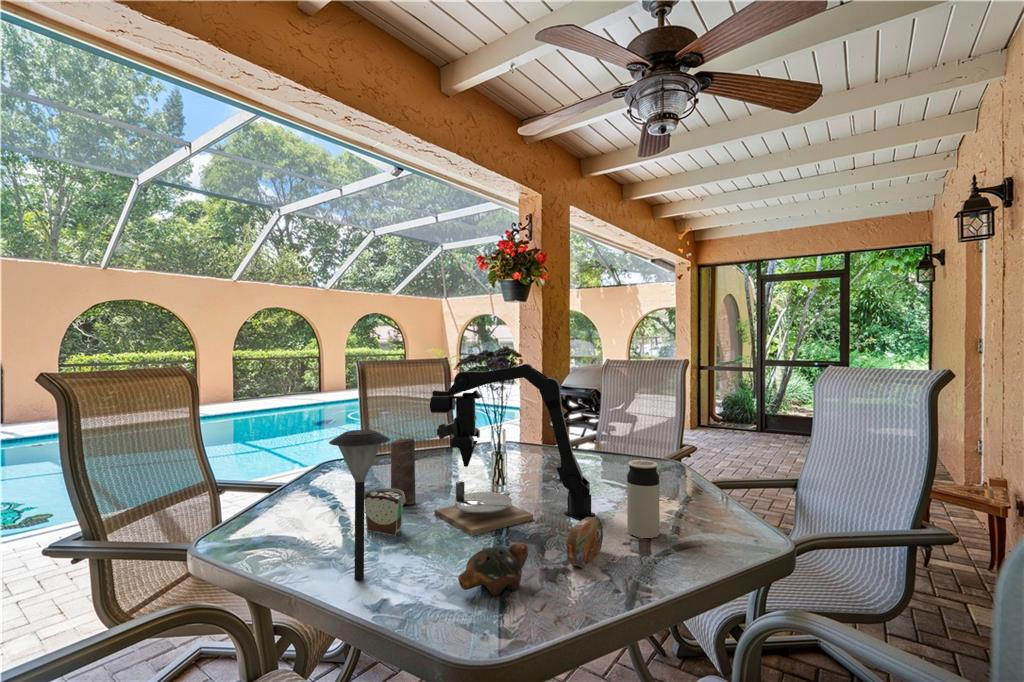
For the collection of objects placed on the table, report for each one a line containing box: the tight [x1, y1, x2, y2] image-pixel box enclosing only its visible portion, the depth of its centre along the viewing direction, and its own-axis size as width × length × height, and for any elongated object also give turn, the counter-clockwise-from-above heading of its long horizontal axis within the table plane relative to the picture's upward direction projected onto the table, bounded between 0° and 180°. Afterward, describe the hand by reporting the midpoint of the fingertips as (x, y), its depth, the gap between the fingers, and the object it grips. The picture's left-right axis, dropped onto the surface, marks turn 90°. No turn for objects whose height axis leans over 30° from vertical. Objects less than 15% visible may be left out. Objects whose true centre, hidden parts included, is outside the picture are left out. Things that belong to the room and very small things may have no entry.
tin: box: [566, 516, 604, 569], centre depth 110 cm, size 15×3×8 cm, turn 148°
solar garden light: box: [328, 429, 391, 582], centre depth 100 cm, size 12×12×30 cm
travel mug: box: [626, 459, 661, 539], centre depth 125 cm, size 8×8×18 cm
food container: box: [364, 487, 406, 537], centre depth 128 cm, size 12×6×10 cm, turn 65°
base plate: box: [434, 504, 534, 537], centre depth 137 cm, size 20×20×2 cm
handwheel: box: [454, 480, 513, 514], centre depth 138 cm, size 16×16×8 cm
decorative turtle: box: [457, 542, 529, 597], centre depth 96 cm, size 10×15×8 cm, turn 125°
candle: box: [390, 437, 416, 505], centre depth 150 cm, size 8×7×20 cm
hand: (466, 466), depth 145 cm, fingers closed
